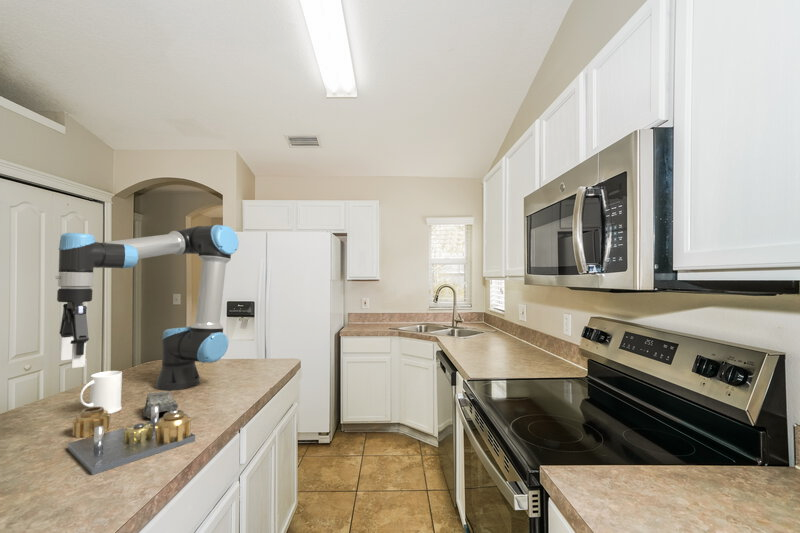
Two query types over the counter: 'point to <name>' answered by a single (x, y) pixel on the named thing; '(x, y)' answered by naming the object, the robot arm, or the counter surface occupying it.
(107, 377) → the mug
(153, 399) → the rock
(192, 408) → the counter surface
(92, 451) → the carrier
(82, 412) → the gear
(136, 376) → the counter surface
